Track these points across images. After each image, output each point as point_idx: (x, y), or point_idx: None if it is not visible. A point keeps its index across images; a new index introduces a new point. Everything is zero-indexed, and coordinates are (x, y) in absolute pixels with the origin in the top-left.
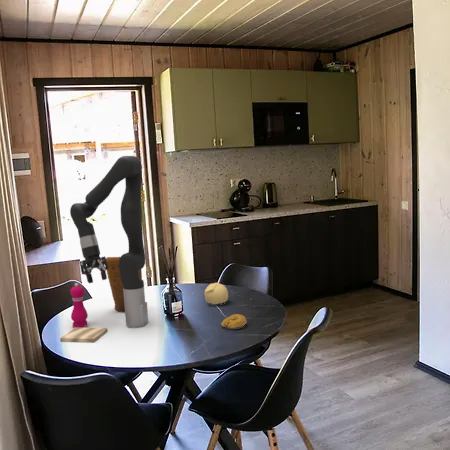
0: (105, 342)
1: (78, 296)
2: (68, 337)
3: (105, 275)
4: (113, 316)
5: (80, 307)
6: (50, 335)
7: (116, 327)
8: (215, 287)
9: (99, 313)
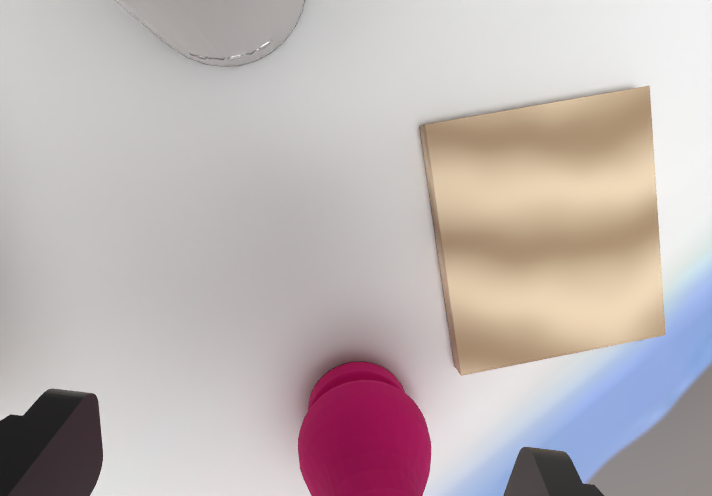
0: (619, 4)
1: None
2: (648, 287)
3: (9, 456)
4: (100, 296)
5: (400, 461)
6: None
7: (326, 110)
8: None
9: None
